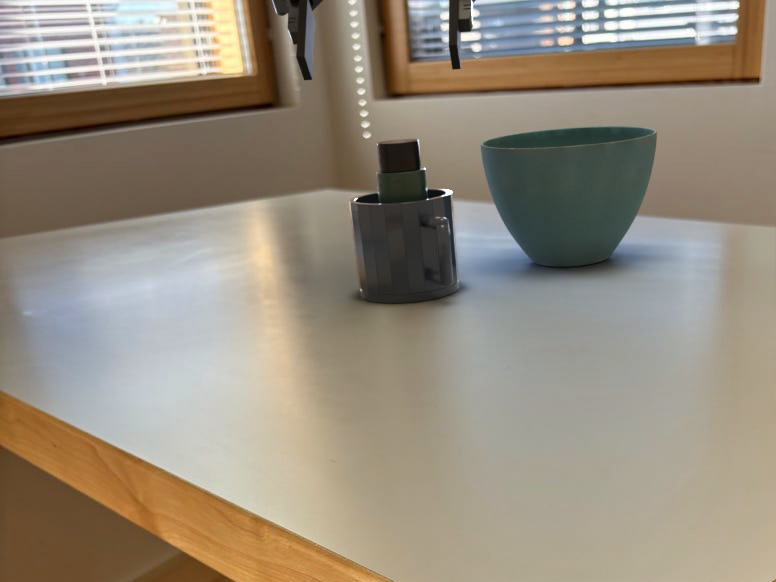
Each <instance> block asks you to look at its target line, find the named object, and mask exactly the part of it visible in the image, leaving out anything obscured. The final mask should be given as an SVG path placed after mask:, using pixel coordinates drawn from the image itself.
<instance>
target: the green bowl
mask: <svg viewBox="0 0 776 582" xmlns="http://www.w3.org/2000/svg"><path fill="white" fill-rule="evenodd" d="M657 138H658V131H657V130H656V129H655V128H651V127H642V126H629V125H627V126H626V125H625V126H624V125H604V126H603V125H602V126H580V127H579V126H578V127H576V126H575V127H563V128H554V129H553V128H552V129H542V130H533V131H525V132H524V131H523V132H518V133H512V134H505V135H502V136H501V135H500V136H497V137H492V138H488V139H485V140H484V141H482V142H481V143H480V144H479V145H480V154H481V160H482V167H483V170H484V174H485V179H486V183H487V186H488V189H489V192H490V195H491V198H492V201H493V203H494V205H495V208H496V210H497V212H498V214H499V217H500V218H501V220H502V222H503V224H504V225H505V228H506V229H507V231H508V233H509V234H510V235H511V237H512V239H514V241H515V242H516V244H517V245H518V246H519V248H521V250H522V251H523V253H525V255H526V256H527V258H528V259H530V260H531V261H532V262H533V263H534V264H536V265H539V266H545V267H552V268H553V267H554V268H565V267H566V268H568V267H580V266H587V265H594V264H597V263H601V262H604V261H606V260H607V259H609V258H610V257H611V255H612V254H613V253H614V252H615V250H616V249H617V248H618V247H619V245H620V244H621V242H622V240H623V239H624V238H625V236H626V234H627V233H628V231H629V230H630V228H631V226H632V225H633V223H634V221H635V219H636V217H637V215H638V213H639V210H640V208H641V206H642V204H643V202H644V198H645V196H646V192H647V189H648V187H649V183H650V179H651V176H652V171H653V166H654V162H655V156H656V149H657Z"/></svg>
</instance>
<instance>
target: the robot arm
mask: <svg viewBox="0 0 776 582" xmlns="http://www.w3.org/2000/svg"><path fill="white" fill-rule="evenodd" d="M271 1H272V4H273V8H274V10H275V13H276V15H278V16H279V17H282V16H287V27H286V28H287V30H288V34H289V37H290V40H291V42H292V44H293V46H295V45H296V52H295V53H296V55H295V58H296V60H297V63H298V66H299V69H300V72H301V76H302V79H303V81H312V80H313V72H314V71H313V70H314V69H313V68H314V53H315V52H314V51H315V50H314V49H315V31H316V30H315V29H316V20H315V16H314V13H313V11H314V10H315V9H316V8H317V7H319V6H320V4H321V3H322V2H323V1H324V0H271ZM476 1H477V0H448V49H449V56H450V57H449V58H450V65H451V69H452V71H454V70H461V69H462V33H469V32H472V29H473V27H474V3H475V2H476Z"/></svg>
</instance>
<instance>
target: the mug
mask: <svg viewBox="0 0 776 582" xmlns="http://www.w3.org/2000/svg"><path fill="white" fill-rule="evenodd" d="M427 191H428V199H425V200H419V201H411V202H401V203H386V204H379V198H378V191H375V192H369V193H365V194H360V195H357V196H354V197H351V198H350V199H349V200H348V208H349V209H348V210H349V214H350V216H349V217H350V224H351V231H352V239H353V248H354V255H355V264H356V271H357V273H356V274H357V279H358V287H359V291H360V292H359V293H360V296H361V299H363V300H365V301H367V302H372V303H379V304H407V303H418V302H426V301H431V300H435V299H439V298H443V297H447V296H450V295H452V294H454V293H456V292H457V291H458V290H459V288H460V282H459V279H460V276H459V275H460V274H459V263H458V249H457V237H456V236H457V235H456V224H455V222H456V221H455V209H454V208H455V207H454V197H453V196H454V195H453V191H452V190H450V189H445V188H436V187H435V188H434V187H427Z"/></svg>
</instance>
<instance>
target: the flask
mask: <svg viewBox="0 0 776 582" xmlns="http://www.w3.org/2000/svg"><path fill="white" fill-rule="evenodd" d="M376 149H377V150H376V151H377V156H378V157H377V158H378V168H379V169H378V170H377V171H375V179H376V187H377V188H376V189H377V192H378V198H379V204H386V203H401V202H411V201H419V200H425V199H428V191H427V188H428V182H427V180H428V179H427V170H426V167H425V166H422V160H421V150H420V140H419V139H418V138H400V139H399V138H398V139H388V140H383V141H378V142H376Z"/></svg>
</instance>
